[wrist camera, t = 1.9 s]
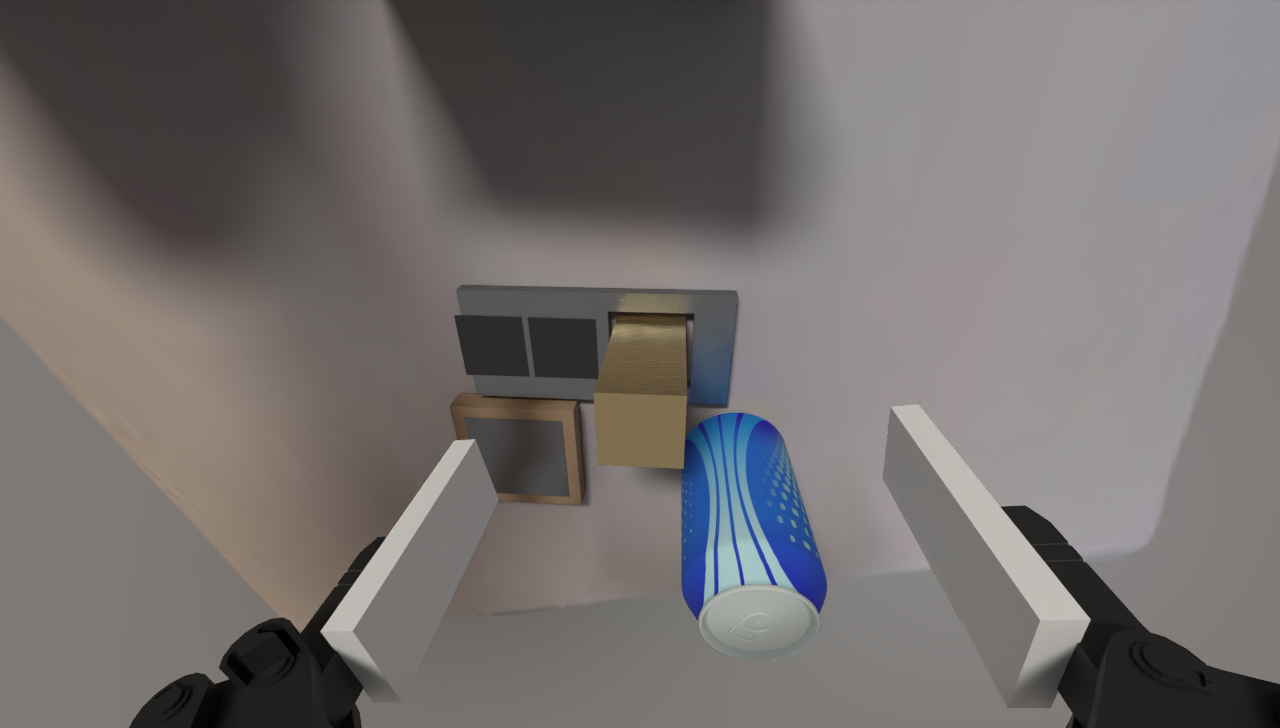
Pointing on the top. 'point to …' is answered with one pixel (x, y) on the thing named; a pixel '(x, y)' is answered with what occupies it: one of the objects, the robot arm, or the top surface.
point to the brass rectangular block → (643, 393)
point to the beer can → (747, 541)
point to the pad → (526, 445)
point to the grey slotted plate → (581, 337)
